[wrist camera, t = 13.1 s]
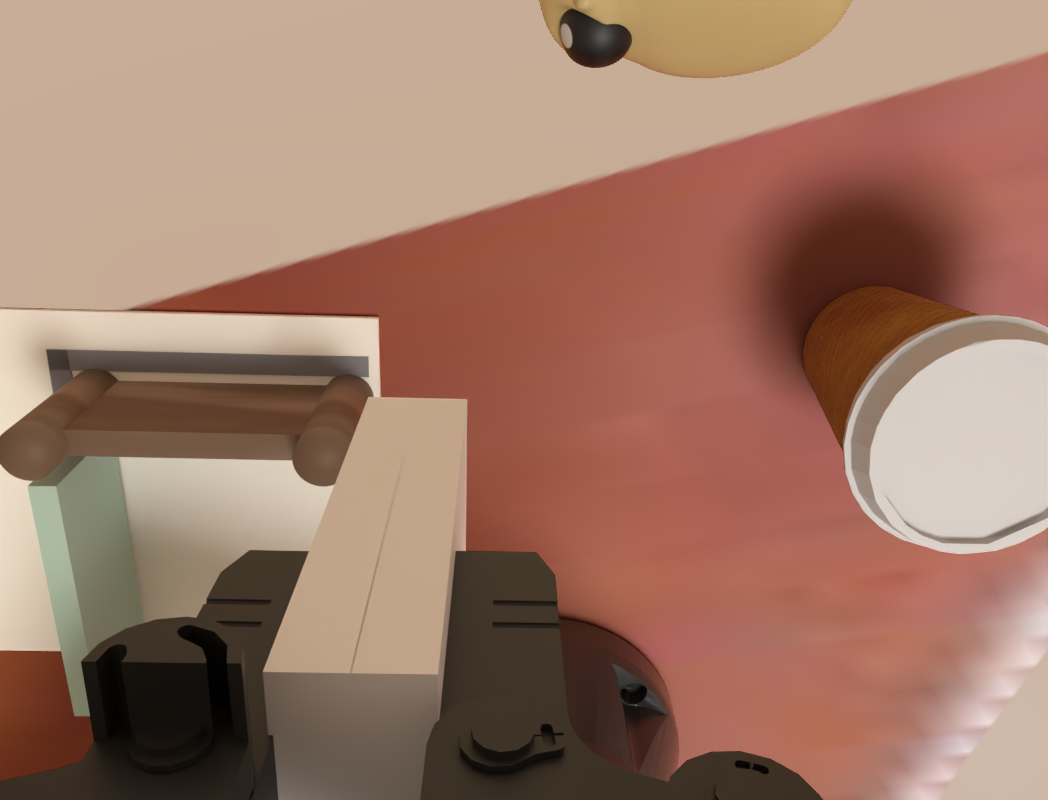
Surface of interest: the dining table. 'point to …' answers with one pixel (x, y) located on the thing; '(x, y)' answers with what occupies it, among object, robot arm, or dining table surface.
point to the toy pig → (690, 32)
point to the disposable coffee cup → (936, 416)
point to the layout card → (169, 483)
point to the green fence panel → (85, 559)
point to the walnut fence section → (189, 424)
